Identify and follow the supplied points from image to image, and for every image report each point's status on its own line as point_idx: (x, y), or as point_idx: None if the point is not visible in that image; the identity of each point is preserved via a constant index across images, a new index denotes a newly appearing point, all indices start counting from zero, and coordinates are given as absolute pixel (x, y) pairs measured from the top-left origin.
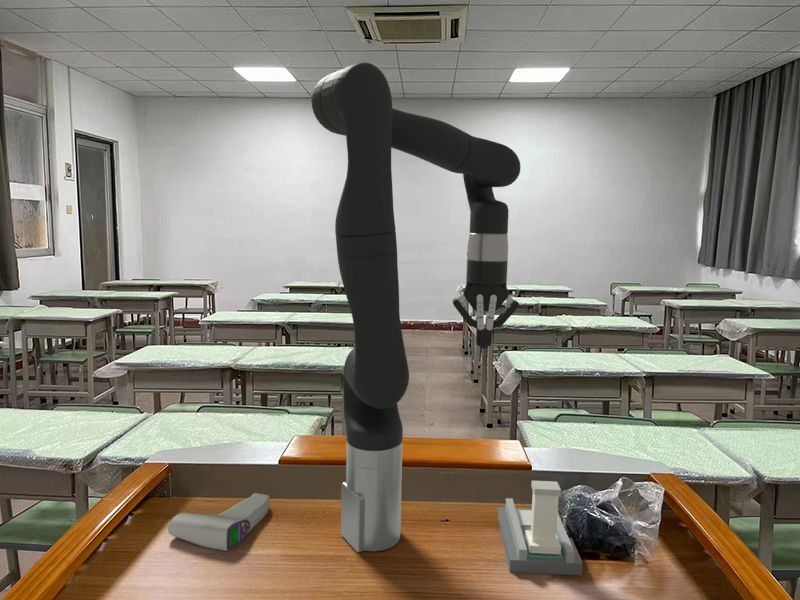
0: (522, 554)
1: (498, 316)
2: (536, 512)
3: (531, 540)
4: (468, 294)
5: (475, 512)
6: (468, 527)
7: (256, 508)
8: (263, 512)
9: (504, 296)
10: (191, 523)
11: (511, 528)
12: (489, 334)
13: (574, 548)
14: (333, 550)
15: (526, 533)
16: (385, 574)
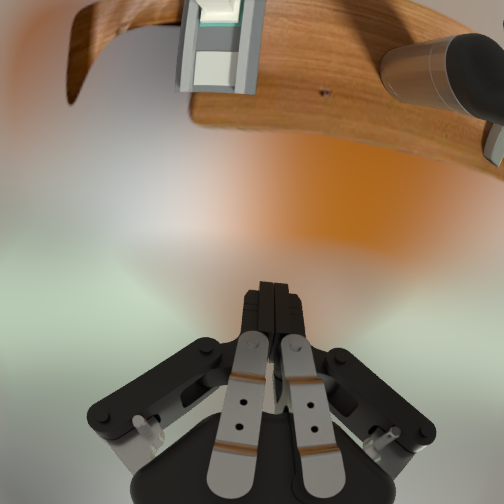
0: None
1: (202, 398)
2: None
3: (235, 2)
4: (377, 485)
5: (282, 107)
6: (297, 75)
7: (500, 133)
8: (490, 139)
9: (156, 476)
10: None
11: (250, 40)
12: (251, 322)
13: (184, 15)
14: None
15: (237, 14)
16: (393, 15)
